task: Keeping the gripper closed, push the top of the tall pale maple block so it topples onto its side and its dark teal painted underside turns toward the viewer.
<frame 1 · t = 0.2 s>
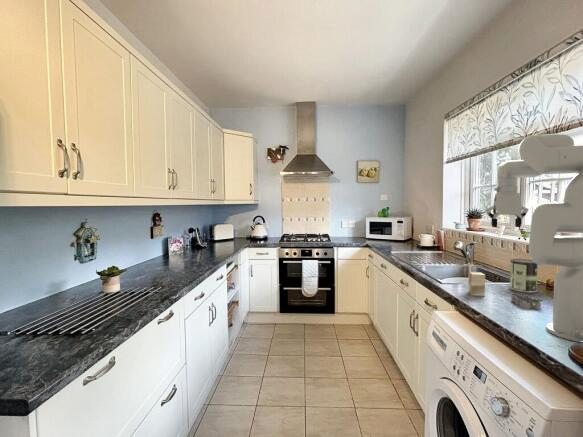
hand: (506, 227, 133), 31 cm above the worktop, tool pointing down, fingers open, 9 cm apart
coffee can: (522, 289, 139), on the worktop
maple block: (476, 294, 132), on the worktop
egg carton: (524, 305, 119), on the worktop
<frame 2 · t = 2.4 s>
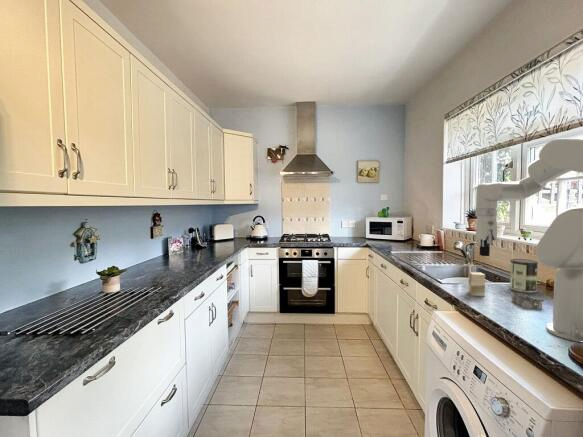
hand: (484, 255, 123), 20 cm above the worktop, tool pointing down, fingers closed
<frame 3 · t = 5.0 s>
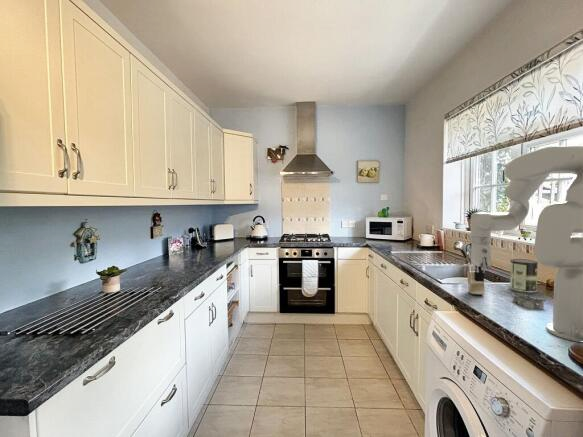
hand: (479, 280, 129), 7 cm above the worktop, tool pointing down, fingers closed
maple block: (476, 293, 132), on the worktop, tilted 9°
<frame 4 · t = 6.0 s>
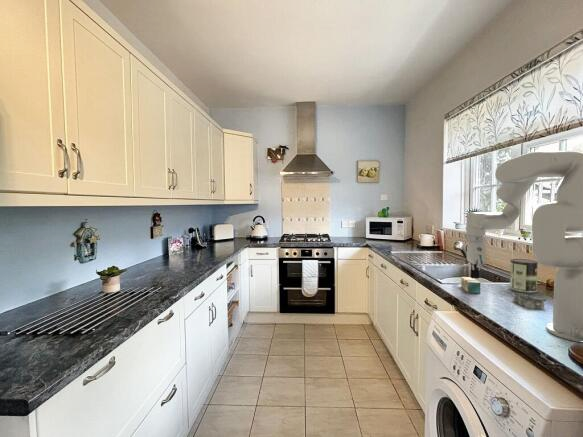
hand: (474, 277, 134), 7 cm above the worktop, tool pointing down, fingers closed
maple block: (474, 287, 134), point 2 cm above the worktop, tilted 90°
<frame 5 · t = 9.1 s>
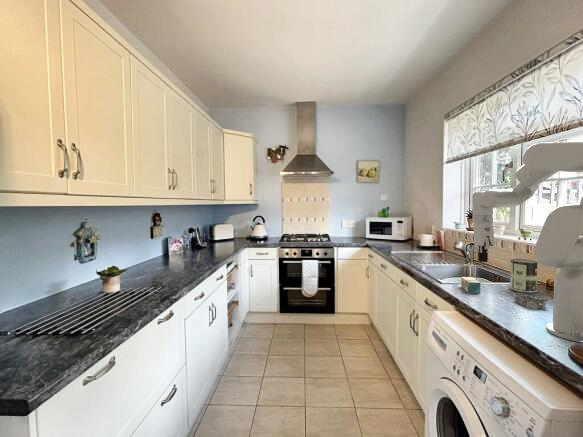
hand: (482, 261, 126), 17 cm above the worktop, tool pointing down, fingers closed
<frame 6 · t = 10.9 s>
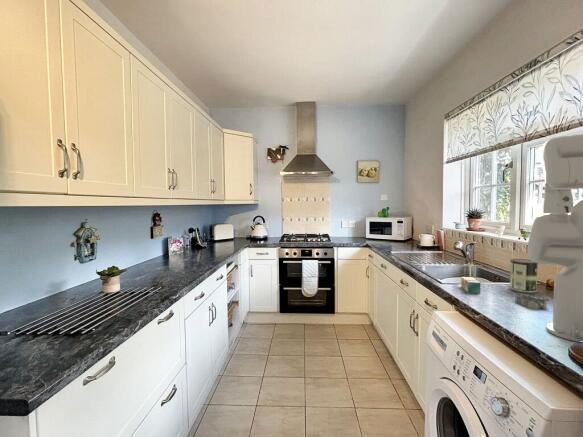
hand: (555, 236, 112), 29 cm above the worktop, tool pointing down, fingers closed
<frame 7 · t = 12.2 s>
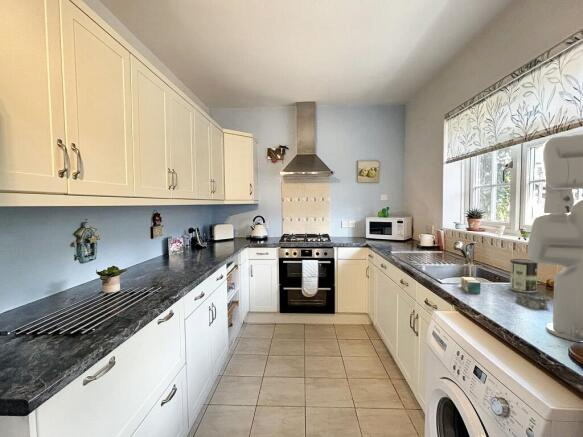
hand: (556, 236, 111), 29 cm above the worktop, tool pointing down, fingers closed
at the end: maple block tilted 90°; maple block inside the target area (2.0 cm from its centre), point 2.4 cm above the worktop; the gripper is holding nothing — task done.
